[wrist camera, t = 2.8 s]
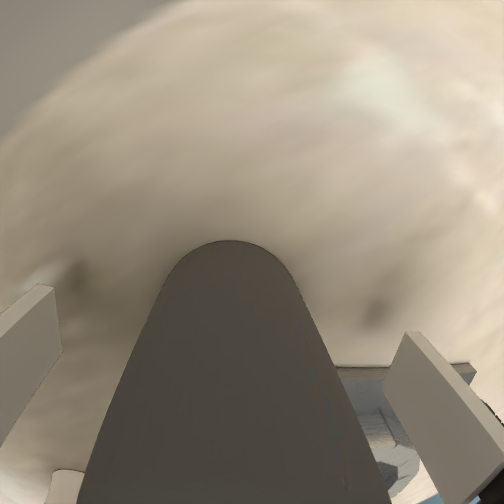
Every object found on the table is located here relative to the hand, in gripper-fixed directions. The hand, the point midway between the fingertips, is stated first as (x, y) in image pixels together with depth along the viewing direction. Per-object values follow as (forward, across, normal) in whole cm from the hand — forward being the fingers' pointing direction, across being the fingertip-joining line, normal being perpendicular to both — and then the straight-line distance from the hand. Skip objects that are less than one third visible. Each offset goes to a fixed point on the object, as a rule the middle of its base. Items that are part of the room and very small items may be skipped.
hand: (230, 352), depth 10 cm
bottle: (+4, 0, 0) cm, 4 cm away
